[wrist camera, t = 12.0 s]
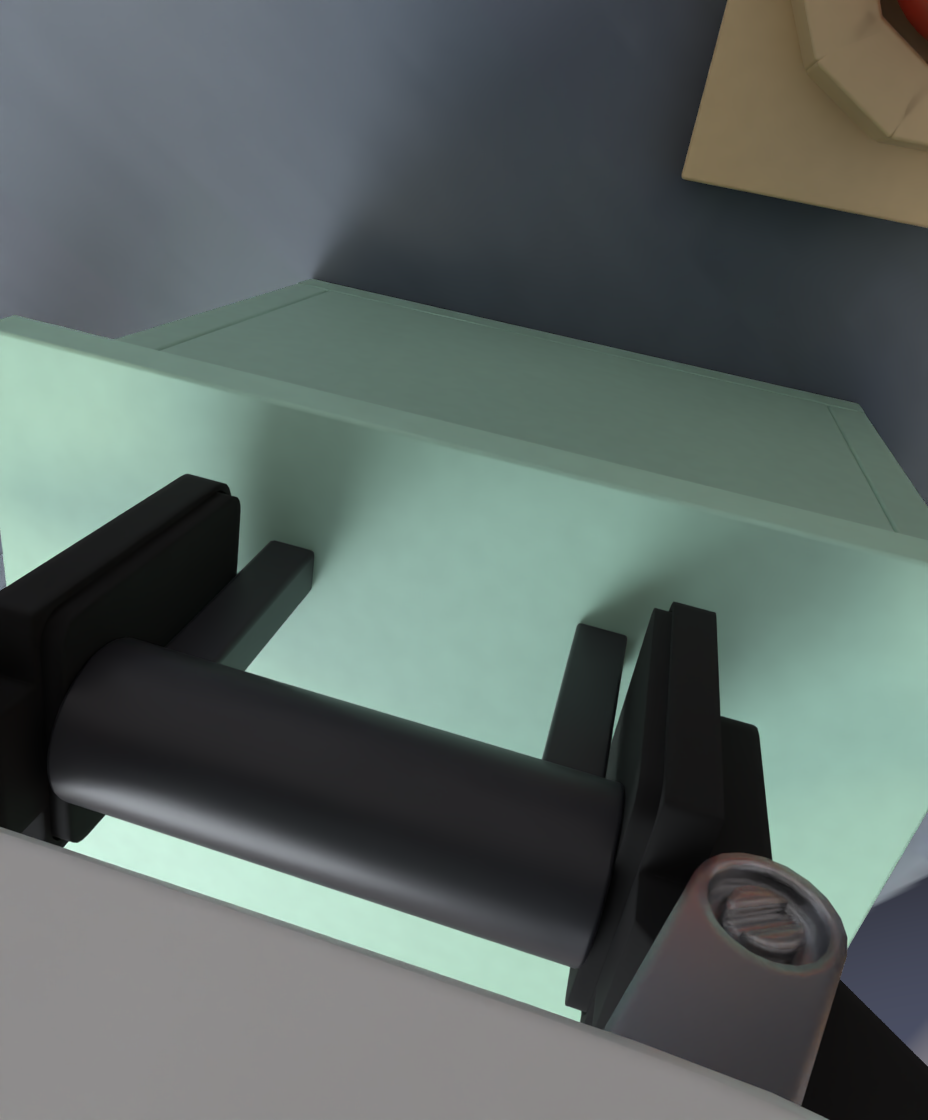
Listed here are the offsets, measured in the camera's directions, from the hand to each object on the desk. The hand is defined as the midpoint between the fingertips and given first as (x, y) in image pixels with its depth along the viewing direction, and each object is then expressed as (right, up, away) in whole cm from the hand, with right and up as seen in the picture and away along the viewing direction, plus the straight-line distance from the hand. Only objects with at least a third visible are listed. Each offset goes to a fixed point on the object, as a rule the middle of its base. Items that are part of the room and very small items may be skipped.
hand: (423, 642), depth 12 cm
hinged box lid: (-1, -4, +4) cm, 6 cm away
